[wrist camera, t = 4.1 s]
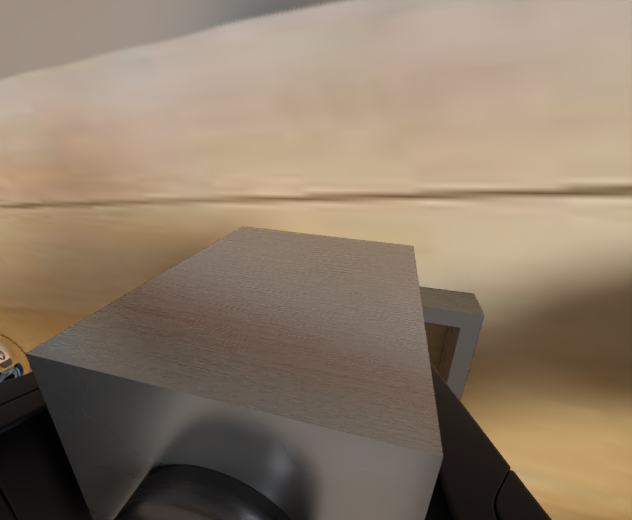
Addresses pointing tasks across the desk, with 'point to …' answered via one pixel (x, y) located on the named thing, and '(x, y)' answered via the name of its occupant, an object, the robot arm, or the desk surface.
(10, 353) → the beer glass
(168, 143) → the desk surface
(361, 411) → the knobbed drawer box
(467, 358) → the two-cubby grey shelf
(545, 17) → the desk surface
